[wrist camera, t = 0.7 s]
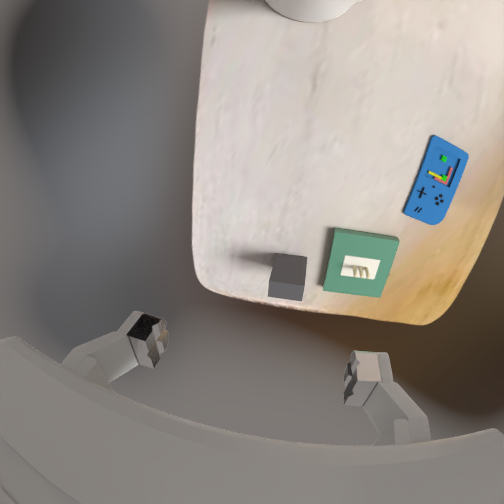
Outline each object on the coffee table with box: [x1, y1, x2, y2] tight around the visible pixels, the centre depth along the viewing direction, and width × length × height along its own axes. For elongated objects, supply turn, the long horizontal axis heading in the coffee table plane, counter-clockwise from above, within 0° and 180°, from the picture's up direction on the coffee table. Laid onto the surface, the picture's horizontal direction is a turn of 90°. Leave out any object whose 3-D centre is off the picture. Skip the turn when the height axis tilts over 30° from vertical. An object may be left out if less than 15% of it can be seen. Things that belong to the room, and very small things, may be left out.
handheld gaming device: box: [404, 135, 468, 225], centre depth 37 cm, size 8×1×15 cm
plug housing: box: [268, 253, 307, 301], centre depth 49 cm, size 3×6×8 cm, turn 89°
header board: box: [323, 228, 400, 298], centre depth 47 cm, size 13×12×4 cm
